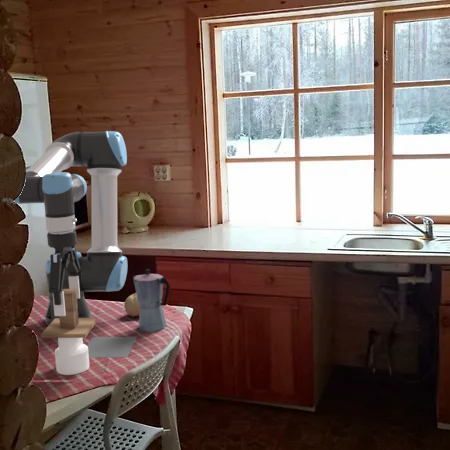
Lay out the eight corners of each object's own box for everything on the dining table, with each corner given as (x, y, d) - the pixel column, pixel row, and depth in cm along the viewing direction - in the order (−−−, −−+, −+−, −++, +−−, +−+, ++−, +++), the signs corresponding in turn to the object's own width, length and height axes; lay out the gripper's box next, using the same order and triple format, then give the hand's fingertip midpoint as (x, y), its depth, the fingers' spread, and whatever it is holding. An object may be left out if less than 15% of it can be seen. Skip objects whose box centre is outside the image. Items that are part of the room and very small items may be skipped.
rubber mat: (93, 338, 186) (93, 337, 185) (137, 338, 185) (137, 336, 185) (79, 359, 171) (79, 357, 171) (127, 359, 170) (127, 357, 170)
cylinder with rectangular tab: (81, 378, 159) (77, 336, 157) (50, 375, 161) (46, 334, 159) (94, 363, 168) (91, 324, 166) (65, 361, 170) (62, 322, 167)
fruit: (127, 311, 209) (126, 290, 208) (150, 311, 209) (148, 289, 207) (123, 319, 201) (121, 297, 200) (146, 319, 201) (145, 297, 199)
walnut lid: (55, 321, 168) (52, 284, 166) (96, 321, 168) (94, 284, 165) (41, 338, 157) (37, 298, 154) (85, 337, 156) (82, 298, 154)
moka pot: (144, 319, 201) (141, 263, 197) (181, 327, 193) (179, 268, 189) (126, 329, 193) (122, 270, 189) (164, 337, 185) (161, 276, 181)
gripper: (60, 242, 144) (67, 323, 149) (88, 221, 168) (93, 291, 173) (30, 242, 144) (38, 323, 149) (62, 221, 169) (68, 291, 173)
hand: (68, 306), depth 161 cm, fingers open, 13 cm apart
